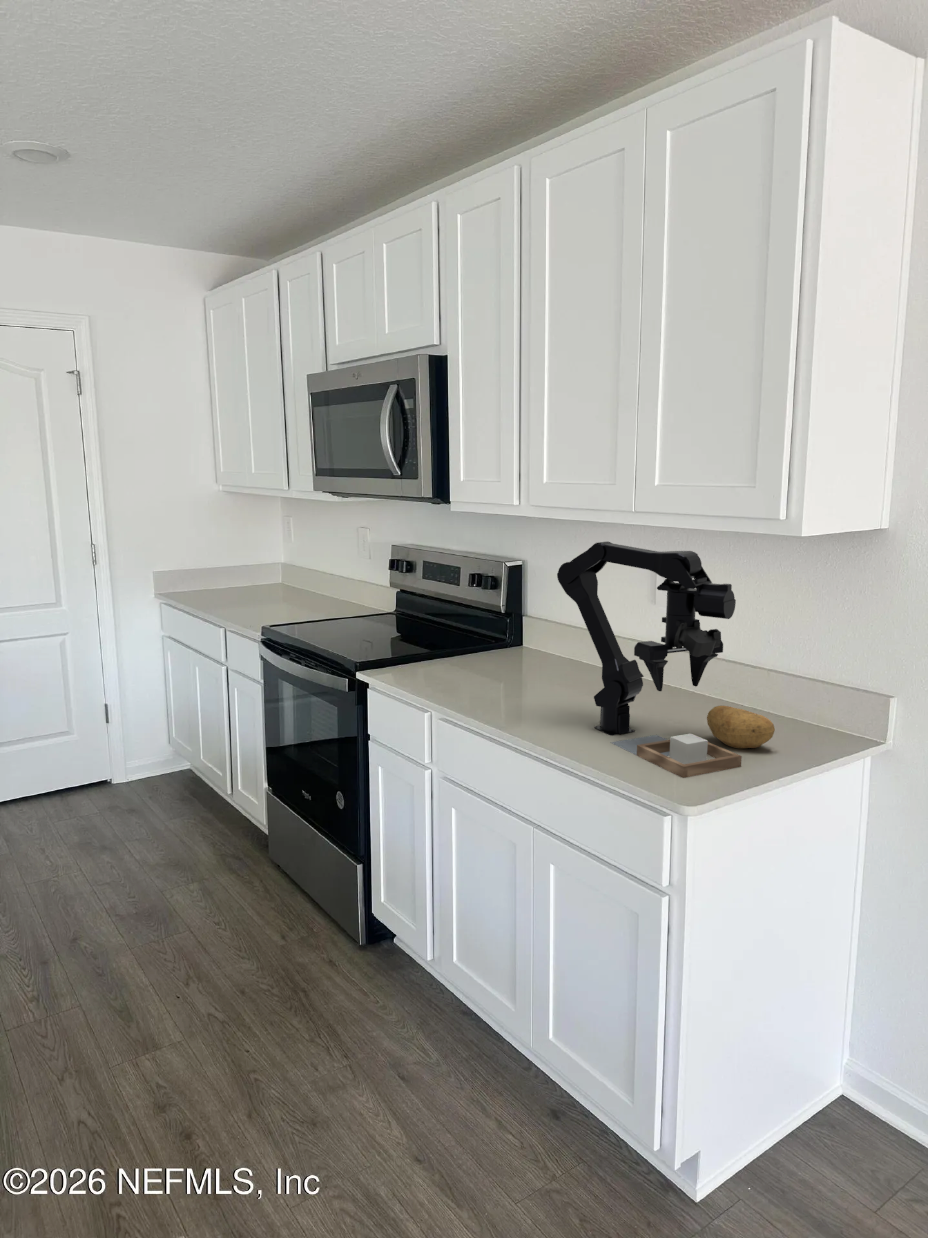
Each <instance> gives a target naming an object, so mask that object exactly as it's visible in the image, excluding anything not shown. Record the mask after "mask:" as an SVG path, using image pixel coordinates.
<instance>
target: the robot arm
mask: <svg viewBox="0 0 928 1238" xmlns="http://www.w3.org/2000/svg"><path fill="white" fill-rule="evenodd" d="M701 560H702V559H701V558H700V557H699V554H698V553H697V552H695V551H693V550H669V551H666V550H665V551H657V550H652V549H646V548H640V547H634V546H628V545H623V544H617V543H612V542H611V541H598V542H595V543H593V544H592V545H591V546H590V547H589V548H588V549H587V550H586V551H583V552H582V553H580V554H579V555H578V556H576V557H574V558H573V559H572V560H570V561H566V562H564V563H562V564H561V565H560V567H559V568H558V571H557V574H556V575H557V576H556V577H557V581H558V583H559V584H560V586H561V588H562V590H563V591H564V593H565V594H566V595H567V596H568V598H571V600H572V601H573V602H575V604H576V606H577V607H578V610H579V612H580V614H581V617H582V620H583V622H584V625H585V627H586V629H587V631H588V634H589V636H590V638H591V640H592V643H593V646H594V647H595V650H596V652H597V654H598V657H599V659H600V662H601V665H602V666H601V680H602V684H603V687H602V689H600V691H598V692H597V693H596V694H595V695H594V696H593V699H594V703H595V704H594V705H595V706H596V707H600V715H599V717H600V721H599V722H600V723H599V725H596V726H595V725H594V729H595V730H597V731H600V732H601V733H603V734H605V735H607V736H610V737H611V736H612V737H613V736H618V735H624V734H631V733H635V731H636V730H635V729H633V728H630V726H631V724H630V722H631V720H630V719H631V714H630V709H631V707H630V705H629V703H633V702H635V699H636V696H637V695H639V694H640V693H641V692H642V690H643V686H644V681H643V678H644V674H643V673H642V672H641V670H640V667H639V665H638V662H637V660H636V659H632V660H629V659H628V658H627V657H625V655H624V654H623V651H622V649H621V647H620V644H619V642H618V640H617V638H616V636H615V633H614V631H613V629H612V626H611V624H610V621H609V619H608V617H607V614H606V612H605V609H604V608H603V605H602V603H601V601H600V598H599V595H598V585H599V582H598V581H599V580H598V577H597V574H598V573H599V572H600V571H601V570H602V569H603V568H604V567H605V566H606V565H607V563H611V564H618V565H621V566H627V567H632V568H638V569H642V570H648V571H651V572H653V573H655V574H656V575H658V576H659V577H661V578H664V580H663V582H661V584H659V585H658V586H657V587H656V589H657V590H658V591H664V592H666V610H665V611H666V613H665V614H666V615H665V616H662V617H661V623H663V624H664V623H665V633H664V634H665V636H661V637H660V642H661V643H660V642H657V641H653V640H647V641H646V640H645V641H637V643H636V644H635V645H634V649H633V656H635V657H638V659H639V660H641V661H643V662H644V665H645V666H646V668H647V670H648V672H649V675H650V676H651V679H652V681H653V684H654V686H655V688H656V690H657V692H662V691H663V685H664V673H665V672H664V671H665V670H664V668H665V666H666V665H667V664H668V662H669V660H668V659H666V657H668V654H673V653H674V654H675V653H680V652H681V653H682V652H688V654H689V665H690V666H689V668H690V679H691V682H692V683H691V684H692V687H698V685H699V683H700V682H701V679H702V676H703V674H704V672H705V669H706V667H707V666H708V663H709V662H710V661H711V660H713V659H714V658H717V657H718V656H719V654H720V653H721V654H722V653H724V643H723V640H722V632H721V630H719V629H717V628H714V629H713V628H712V629H709V630H703V629H702V628H701V621H700V619H696V613H698V615H699V616H700V617H707V618H717V619H725V620H729V619H731V618H732V617H733V615H734V614H735V613H734V612H735V609H736V601H737V600H736V599H735V593H734V591H733V590H732V588H733V586H732V584H731V583H713V581H712V580H711V579H710V577H709V575H708V574H707V572H706V571H705V569H704V568H703V566H702V564H703V563H702V561H701Z"/></svg>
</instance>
